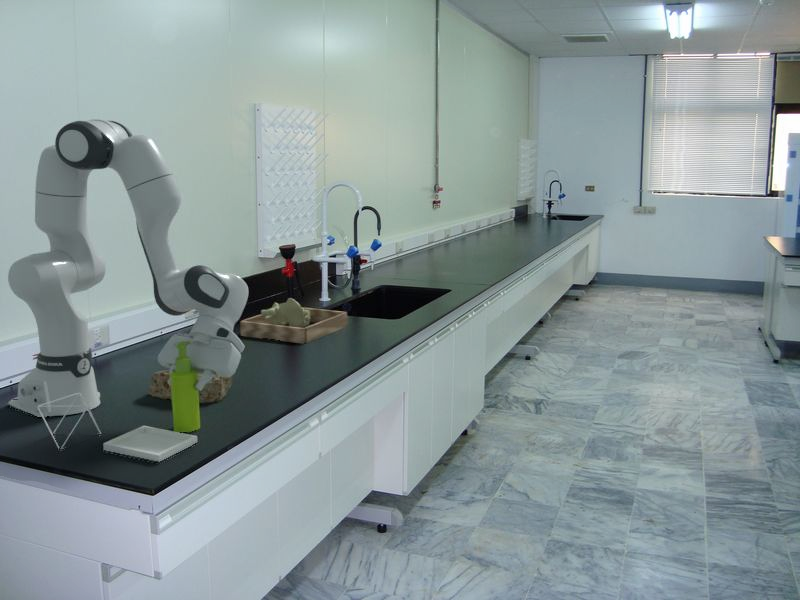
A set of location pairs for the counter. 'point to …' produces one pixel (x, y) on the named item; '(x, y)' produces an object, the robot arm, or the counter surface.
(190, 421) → the soap dispenser
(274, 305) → the pelvis bone
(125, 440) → the tray
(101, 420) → the counter surface
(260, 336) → the specimen frame
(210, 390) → the rock
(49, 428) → the geometric polyhedron
